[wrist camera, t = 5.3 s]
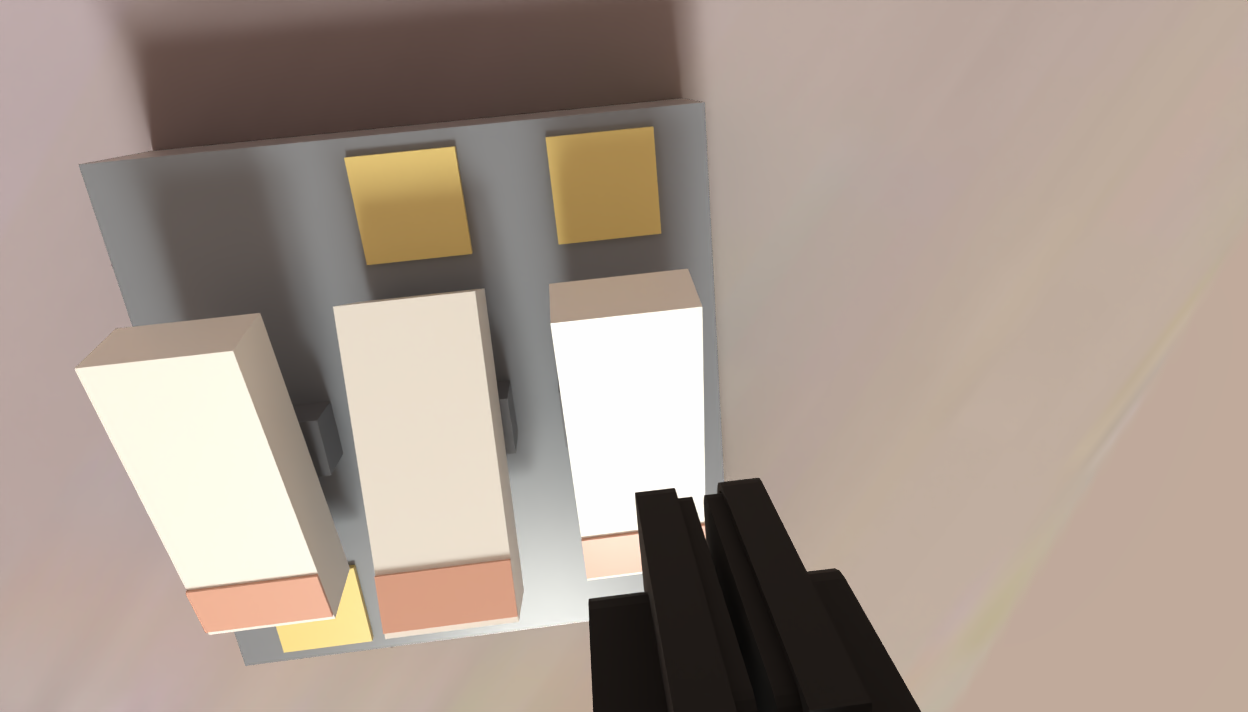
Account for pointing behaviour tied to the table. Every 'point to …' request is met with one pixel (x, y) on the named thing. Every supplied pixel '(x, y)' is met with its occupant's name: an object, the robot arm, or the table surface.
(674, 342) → the block
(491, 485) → the rocker
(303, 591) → the rocker
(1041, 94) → the table surface
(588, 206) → the switch unit
